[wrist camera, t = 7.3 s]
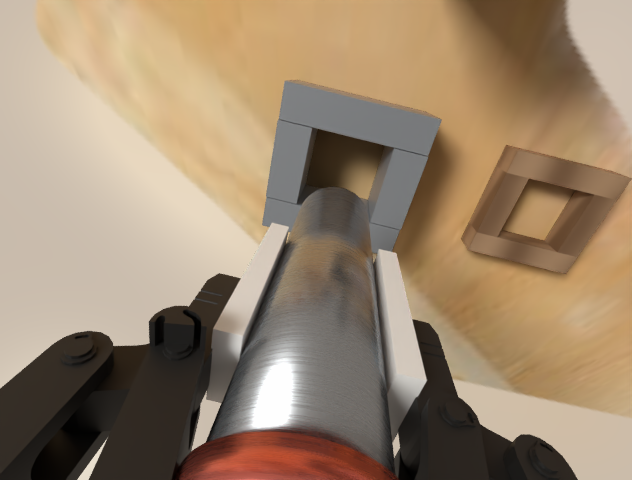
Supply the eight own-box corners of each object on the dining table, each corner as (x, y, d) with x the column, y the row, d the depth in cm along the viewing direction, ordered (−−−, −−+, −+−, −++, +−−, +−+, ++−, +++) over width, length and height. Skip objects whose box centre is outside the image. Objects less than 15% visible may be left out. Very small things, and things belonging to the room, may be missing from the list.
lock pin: (384, 192, 18) (480, 552, 4) (360, 263, 20) (376, 652, 6) (301, 172, 18) (141, 472, 4) (287, 245, 20) (148, 599, 6)
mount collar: (611, 171, 30) (631, 178, 28) (552, 261, 35) (565, 274, 32) (506, 144, 30) (518, 150, 28) (461, 238, 35) (468, 249, 32)
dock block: (426, 112, 30) (442, 120, 24) (385, 229, 35) (390, 256, 30) (297, 79, 30) (284, 80, 24) (275, 202, 35) (261, 224, 30)
